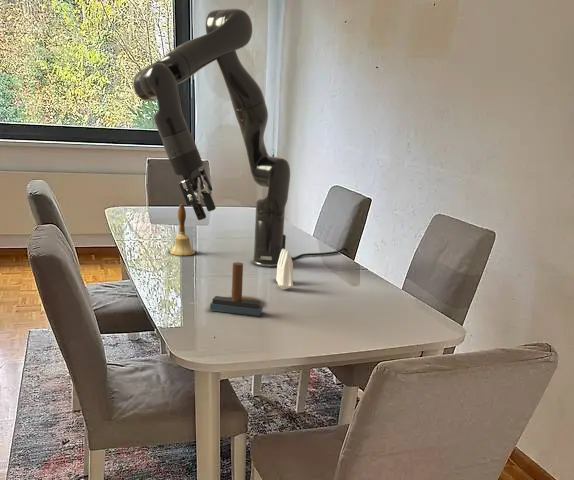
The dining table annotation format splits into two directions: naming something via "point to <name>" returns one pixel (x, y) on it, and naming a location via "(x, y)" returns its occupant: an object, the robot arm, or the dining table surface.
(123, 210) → the dining table surface
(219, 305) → the sponge wiper
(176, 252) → the hand bell
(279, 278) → the shaker set
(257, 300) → the brown round coaster
